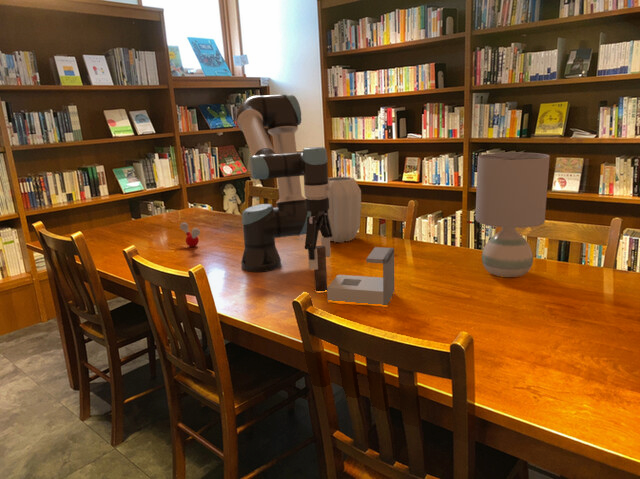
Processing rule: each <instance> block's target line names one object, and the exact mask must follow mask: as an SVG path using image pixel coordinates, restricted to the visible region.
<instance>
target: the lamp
mask: <svg viewBox="0 0 640 479" xmlns="http://www.w3.org/2000/svg"><path fill="white" fill-rule="evenodd" d="M550 157H551V155H549V154H545V153H539V152H537V153H536V152H491V153H484V154H480V155H478V156H477V166H476V167H477V169H476V194H475V195H476V198H475V216H474V217H475V221H476V222H477V223H480V224H482V225H485V226H489V227H490V226H491V227H496V228H501V230H499V231H497V233H495V234H494V235H492V236H491V237H490V238H489V240H488V241H486V243H485V245H484V247H483V250H482V253H481V261H482V265H483V267H484V269H485V270H486V271H487V272H488V273H489V274H491V275H492V274H494V275H493V276H495V275H497V276H496V277H498V276H503V277H516V278H518V277H517V276H520V277H522V276H524V275H526V274H527V273H528V272H530V270H531V268H532V266H533V262H534V254H533V250H532V248H531V246H530V244H529V242H528V241H527V239H526V238H525V237H523V235H522V234H520V233H519V231H516V229H520V228H521V229H523V228H535V227H538V226H541V225H544V223H545V222H546V208H547V194H548V183H549V170H550Z"/></svg>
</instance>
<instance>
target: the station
mask: <svg viewBox="0 0 640 479" xmlns="http://www.w3.org/2000/svg"><path fill="white" fill-rule="evenodd" d="M366 263H367V264H368V263H371V264H382V277H379V276H377V277H376V276H365V275H348V274H337V275H336V276H335V277H334V279H333V280H332V281H331V282H330V284H329V285H327V292H326V293H327V294H326V295H327V301H328V300H332V301H345V302H356V303H368V304H382V305H388V303H389V301H390V299H391V297H392V295H393V292H394V293H395V248H394V247H378V246H375V247H374V248H373V249H372V250H371V252H370V253H369V255H368V256H367V257H366ZM393 296H394V295H393ZM392 298H393V297H392ZM391 300H392V299H391ZM390 302H391V301H390ZM389 304H390V303H389Z"/></svg>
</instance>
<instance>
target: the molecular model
mask: <svg viewBox="0 0 640 479" xmlns="http://www.w3.org/2000/svg"><path fill="white" fill-rule="evenodd" d="M179 228H180V230H182V231H183V232H184V233H185V235H186V238H185V243H186V245H187V246H188V247H191V248H192V247H193V248H195V247H196V246H197V245H198V244H199V237H198V236H200V234H201V231H200V228H198V227H194V228H192V229H191V232H190V230H189V224H188V223H187V222H181V223H180V225H179Z"/></svg>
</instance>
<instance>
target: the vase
mask: <svg viewBox="0 0 640 479" xmlns="http://www.w3.org/2000/svg"><path fill="white" fill-rule="evenodd" d="M328 187H330V190H328V192H329V195H328V196H327V197H328V198H329V209H328V217H329V221H330V226H331V231H332V233H331V234H332V237H329V238H330V241H334V242H333V243H336V242H338V243H345V242H344V241H349V242H351V241H352V240H351V239H353V240H354V239H355V237H356V236H357V234H358V232H359V230H360V227H361V213H362V210H361V209H362V208H361V207H362V189H361V188H360V186H359V185H358V183H357V181H356V179H355V178H354V177H351V176H333V177H332V176H331V177H329V176H328ZM328 230H329V229H328ZM350 240H351V241H350Z"/></svg>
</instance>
